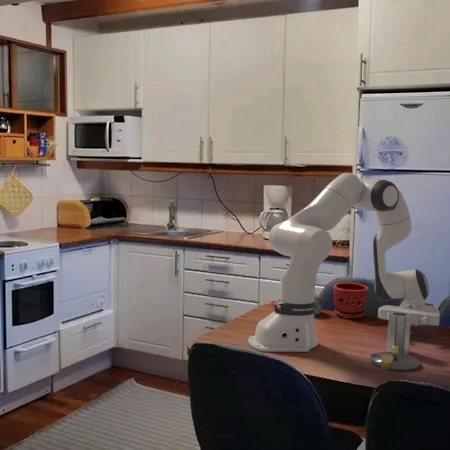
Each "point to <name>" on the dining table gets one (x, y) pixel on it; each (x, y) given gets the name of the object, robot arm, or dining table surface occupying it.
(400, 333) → the octagonal pipe segment
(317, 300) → the spool
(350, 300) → the plant pot
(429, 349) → the dining table surface
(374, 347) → the dining table surface
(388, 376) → the dining table surface
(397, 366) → the grey pot lid
